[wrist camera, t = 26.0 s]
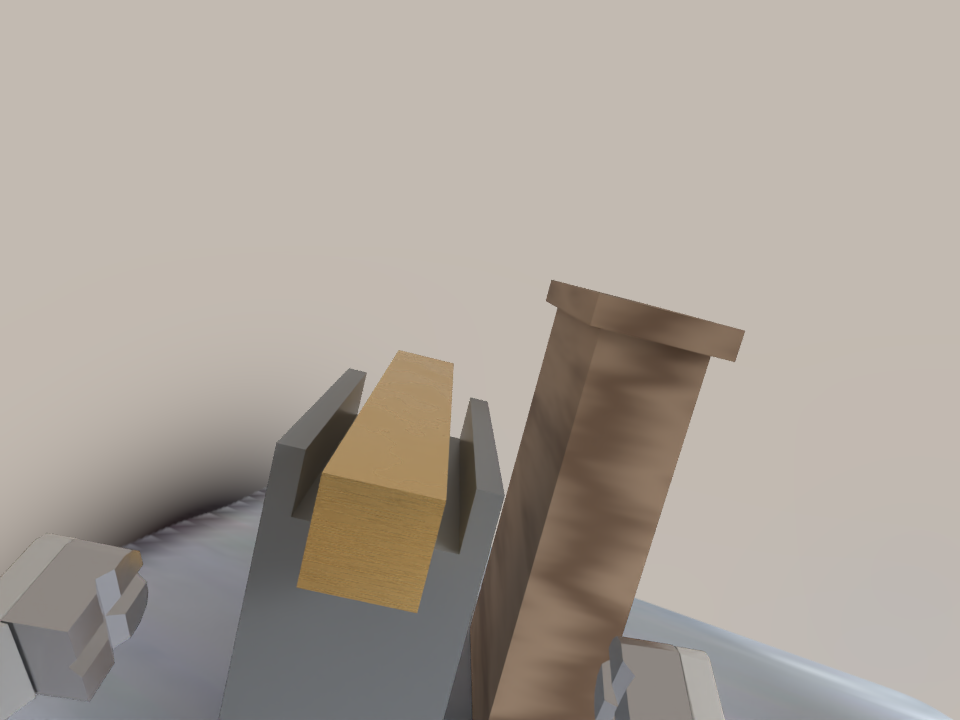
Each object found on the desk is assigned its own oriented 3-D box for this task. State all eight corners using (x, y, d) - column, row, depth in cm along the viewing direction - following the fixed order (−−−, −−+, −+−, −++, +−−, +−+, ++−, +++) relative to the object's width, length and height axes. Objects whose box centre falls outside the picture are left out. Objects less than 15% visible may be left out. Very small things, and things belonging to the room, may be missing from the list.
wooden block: (386, 403, 39) (398, 350, 39) (440, 416, 40) (453, 363, 39) (296, 587, 18) (321, 472, 17) (417, 613, 18) (446, 500, 17)
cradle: (412, 686, 38) (487, 401, 36) (385, 929, 25) (504, 495, 22) (283, 660, 38) (349, 368, 35) (182, 893, 24) (276, 442, 21)
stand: (549, 636, 47) (648, 304, 43) (590, 809, 33) (745, 330, 29) (460, 617, 47) (551, 279, 43) (460, 784, 32) (599, 293, 28)
